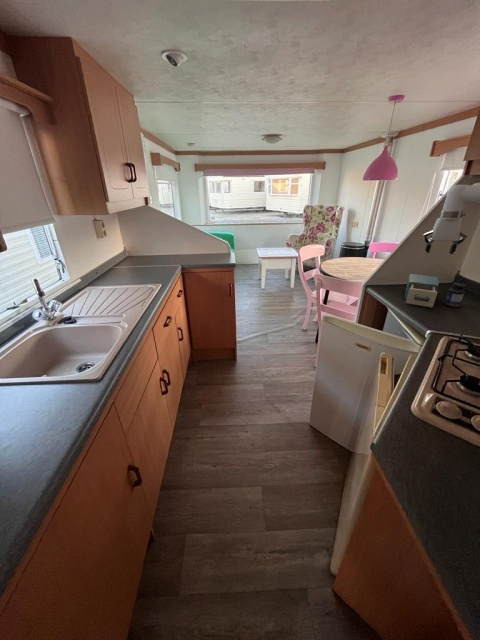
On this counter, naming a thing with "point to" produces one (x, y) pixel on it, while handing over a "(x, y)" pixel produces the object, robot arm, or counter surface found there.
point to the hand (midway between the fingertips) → (439, 252)
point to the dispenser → (421, 281)
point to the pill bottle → (455, 295)
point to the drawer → (421, 295)
